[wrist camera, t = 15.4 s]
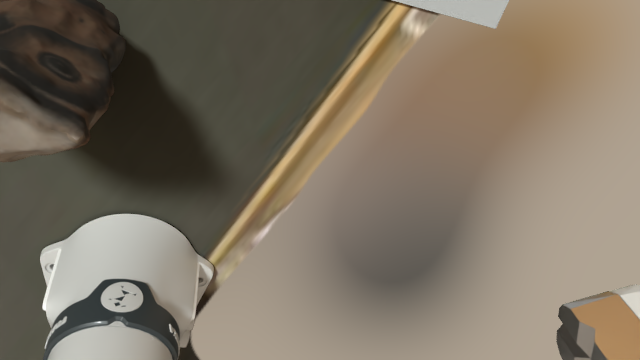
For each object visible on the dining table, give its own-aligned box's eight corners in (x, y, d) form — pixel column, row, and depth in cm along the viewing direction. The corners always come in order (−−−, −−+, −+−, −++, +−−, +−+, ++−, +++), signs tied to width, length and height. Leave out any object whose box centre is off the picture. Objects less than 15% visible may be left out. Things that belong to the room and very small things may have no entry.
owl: (-73, 1, 42) (-256, 115, 26) (50, -86, 40) (-62, -22, 24) (47, 118, 49) (-36, 265, 33) (157, 49, 47) (127, 169, 31)
